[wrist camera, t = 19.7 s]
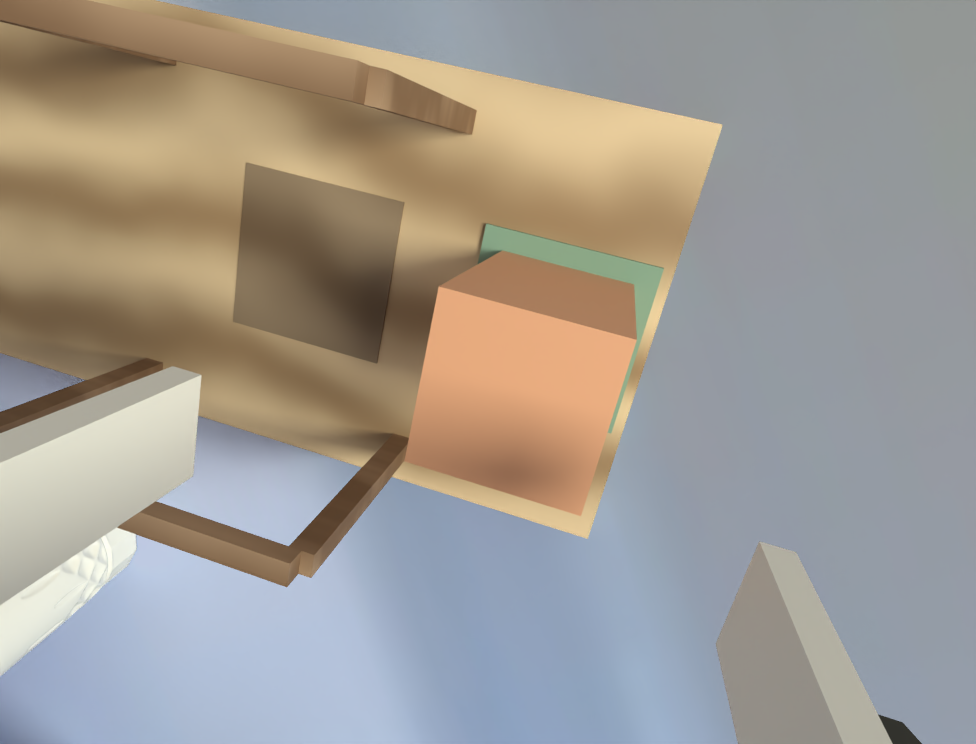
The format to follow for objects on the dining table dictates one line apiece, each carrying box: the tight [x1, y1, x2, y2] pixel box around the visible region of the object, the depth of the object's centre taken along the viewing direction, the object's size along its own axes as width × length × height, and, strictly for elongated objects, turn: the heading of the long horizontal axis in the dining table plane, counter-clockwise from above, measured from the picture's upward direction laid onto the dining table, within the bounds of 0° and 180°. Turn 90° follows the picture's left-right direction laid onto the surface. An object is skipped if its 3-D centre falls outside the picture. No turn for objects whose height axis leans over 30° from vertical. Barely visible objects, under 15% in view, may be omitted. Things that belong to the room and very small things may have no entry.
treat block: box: [405, 251, 637, 516], centre depth 24 cm, size 6×6×10 cm
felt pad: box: [477, 223, 664, 433], centre depth 29 cm, size 8×8×1 cm
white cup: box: [0, 527, 137, 677], centre depth 36 cm, size 8×8×10 cm
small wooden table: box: [0, 0, 722, 587], centre depth 26 cm, size 20×38×13 cm, turn 77°
